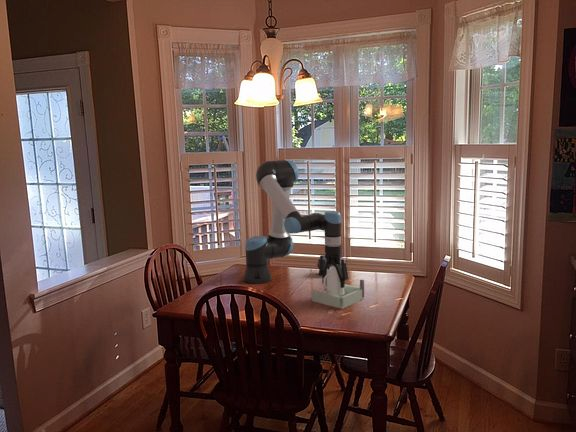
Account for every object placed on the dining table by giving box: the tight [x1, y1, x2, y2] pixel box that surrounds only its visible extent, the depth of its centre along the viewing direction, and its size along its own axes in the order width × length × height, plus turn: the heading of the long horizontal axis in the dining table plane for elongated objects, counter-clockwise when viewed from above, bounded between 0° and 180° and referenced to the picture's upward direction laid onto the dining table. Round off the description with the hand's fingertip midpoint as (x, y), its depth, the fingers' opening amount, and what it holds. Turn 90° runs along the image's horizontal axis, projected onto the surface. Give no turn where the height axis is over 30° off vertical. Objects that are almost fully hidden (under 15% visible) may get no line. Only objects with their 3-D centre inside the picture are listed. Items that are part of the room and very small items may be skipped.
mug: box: [323, 266, 344, 296], centre depth 221 cm, size 12×8×12 cm
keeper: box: [311, 279, 365, 310], centre depth 220 cm, size 18×18×9 cm
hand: (333, 292), depth 222 cm, fingers closed on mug, 8 cm apart
